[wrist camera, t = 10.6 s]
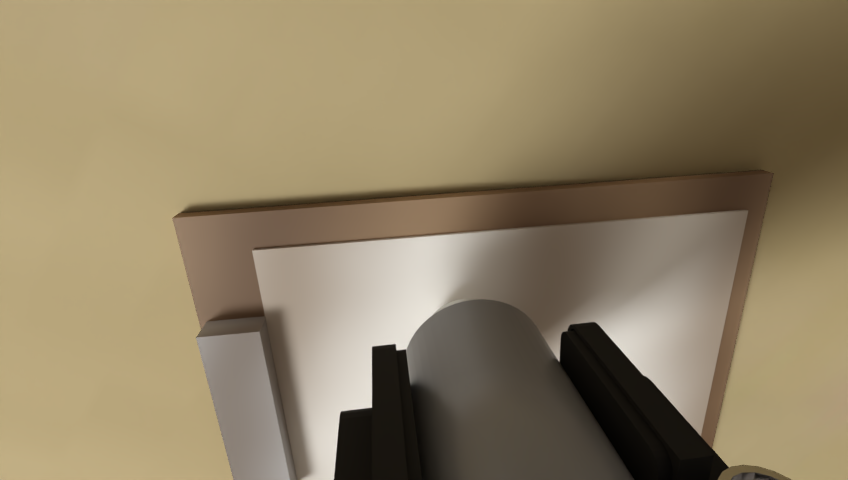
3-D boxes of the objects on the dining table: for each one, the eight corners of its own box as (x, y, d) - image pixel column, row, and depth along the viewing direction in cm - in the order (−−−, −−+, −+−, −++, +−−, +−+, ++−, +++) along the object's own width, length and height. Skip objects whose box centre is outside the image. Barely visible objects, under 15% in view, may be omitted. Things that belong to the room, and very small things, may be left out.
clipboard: (762, 169, 13) (798, 179, 12) (694, 484, 17) (716, 513, 16) (178, 213, 12) (158, 228, 11) (260, 538, 16) (252, 573, 15)
